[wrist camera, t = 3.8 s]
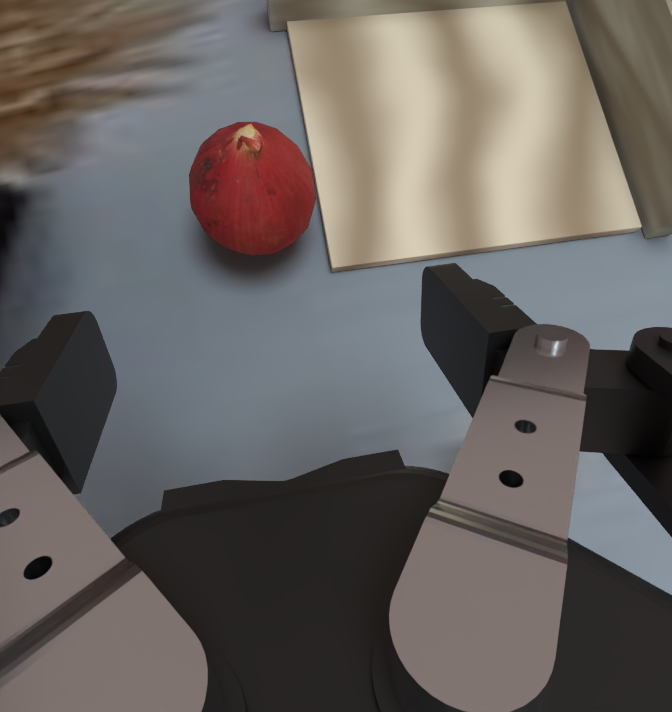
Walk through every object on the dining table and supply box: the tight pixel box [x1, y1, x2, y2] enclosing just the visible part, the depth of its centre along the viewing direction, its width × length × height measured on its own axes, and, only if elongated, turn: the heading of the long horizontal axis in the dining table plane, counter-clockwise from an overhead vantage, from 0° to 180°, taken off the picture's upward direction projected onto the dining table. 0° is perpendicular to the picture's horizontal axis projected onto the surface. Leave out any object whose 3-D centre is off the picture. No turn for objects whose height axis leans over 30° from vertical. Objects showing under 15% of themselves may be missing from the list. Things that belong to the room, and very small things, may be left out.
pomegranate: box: [189, 122, 316, 256], centre depth 23 cm, size 6×6×8 cm
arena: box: [267, 0, 672, 272], centre depth 26 cm, size 21×18×6 cm
